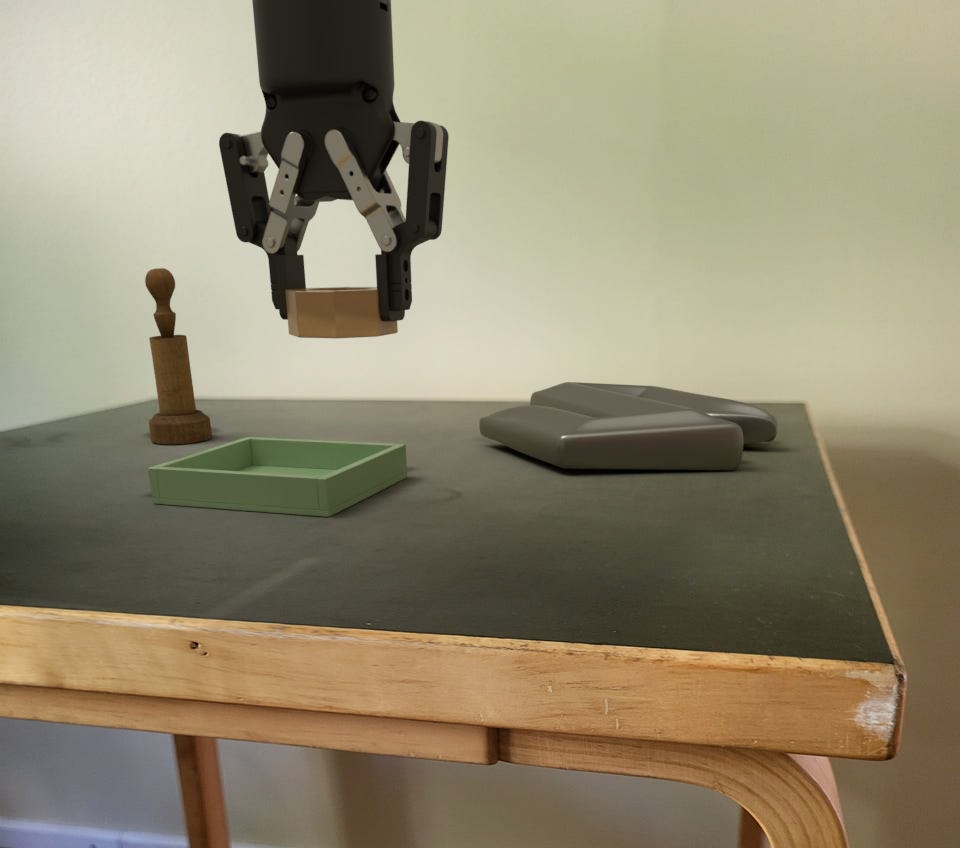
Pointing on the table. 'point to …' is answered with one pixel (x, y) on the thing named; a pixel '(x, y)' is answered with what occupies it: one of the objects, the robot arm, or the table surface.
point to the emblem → (630, 428)
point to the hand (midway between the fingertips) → (342, 318)
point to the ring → (336, 313)
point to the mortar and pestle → (172, 373)
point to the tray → (280, 475)
